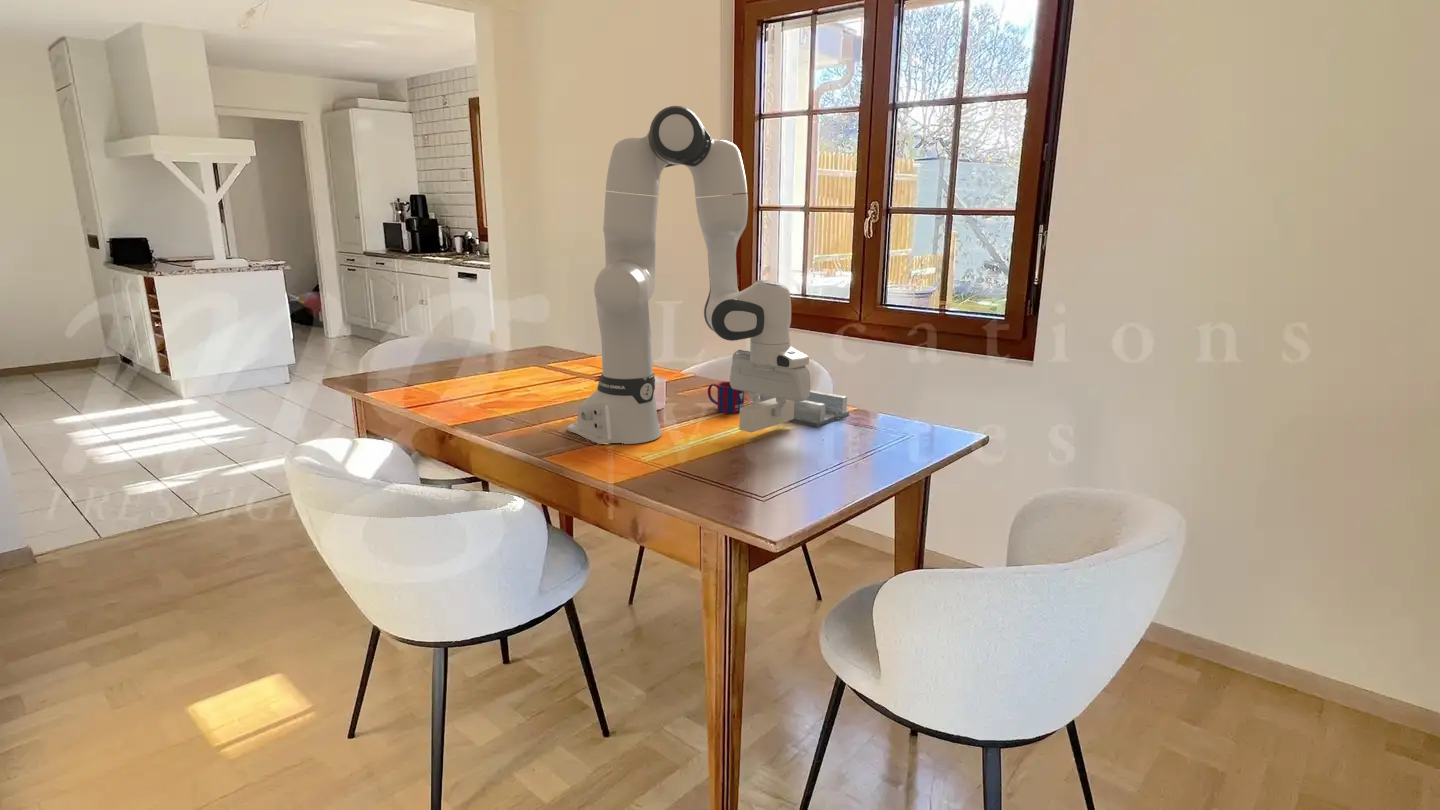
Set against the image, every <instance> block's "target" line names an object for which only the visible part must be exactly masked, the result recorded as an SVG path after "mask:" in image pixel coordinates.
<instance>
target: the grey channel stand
mask: <svg viewBox="0 0 1440 810" xmlns="http://www.w3.org/2000/svg"><path fill="white" fill-rule="evenodd" d="M773 398H776V397H771V396H766V395H760V396H759V399H760V402H762V401H766V400H769V399H773ZM847 403H848V396H846V395H839V394H835V393H829V392H823V391H817V390H813V389H810V396H809V397H808V398H807V400H805V401H801V402H796V401H795V402H794V419H792V420H789V421H788V422H789V423H790V422H791V423H793V424H794V423H796V424H799V425H805V426H808V425H810V426H809V427H813V426H815V427H814V428H817V426H818V427H820V425H821V426H824V425H826V424H829V423H831V421H832V422H834V421H837V420H839V419H838V418H840V419H842V418H841V417H843V418H845V417H848V416H850V413H851V412H850V410H847V409H848V408H847V407H848V404H847ZM847 415H848V416H847ZM844 416H845V417H844ZM836 419H837V420H836ZM833 420H834V421H833ZM823 424H824V425H823Z"/></svg>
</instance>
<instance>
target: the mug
mask: <svg viewBox="0 0 1440 810" xmlns="http://www.w3.org/2000/svg"><path fill="white" fill-rule="evenodd" d="M713 386H714V387H715V388H716V389H717V401H716V400H715V399H714V398H713V395H712V393H711V392H712V387H713ZM707 396H708V398H709V400H710V401H711V402H712V403H713V404H714V405H716V406H717V411H718V412H719V413H722V414H730V415H731V414H732V415H734V414H740V408H741V407H744V406H745V391H741V390H736V389H732V387H731V386H730V381H724V382H723V381H722V382H719V383H717V384H716V383H711V384H709V386H708V388H707Z"/></svg>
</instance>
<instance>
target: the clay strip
mask: <svg viewBox="0 0 1440 810" xmlns="http://www.w3.org/2000/svg"><path fill="white" fill-rule="evenodd" d="M794 402H795V401H791V400H786V403H785V404H784V406H783V408H782V409H781V416H779V417H775V416H772V408H775V407H776V406H777V404H778V402H776V398H773V399H769V400H766V401H762V402H759V403H755V404H753V403H752V404H747V405H744V407H741V408H740V413H739V421H738V422H739V426H738V427H739V428H738V429H739V430H740V431H742V432H747V433H748V432H749V433H751V434H752V433H755V432H758V431H762V430H764V429H767V428H770V427H773V426H777V425H780V424H783V423H786V422H789V420H792V419H794Z"/></svg>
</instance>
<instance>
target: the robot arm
mask: <svg viewBox="0 0 1440 810" xmlns="http://www.w3.org/2000/svg"><path fill="white" fill-rule="evenodd" d="M609 159H610V160H609V164H608V170H607V175H606V176H607V177H606V183H605V194H604V213H603V227H602V231H603V236H604V249H605V250H604V253H605V256H604V257H605V267H603V268H602V269H601V270H600V271H599V273H598V274H597V276H596V279H595V282H594V287H593V289H594V298H595V304H596V305H595V306H596V313H597V321H598V326H599V327H598V328H599V333H600V340H601V341H600V342H601V363H602V365H601V366H602V369H601V370H602V373H601V375H597V376H594V377H593V378H595V380H594V382H598V384H597V388H596V389H597V390H596V391H594V392H593V393H592V394H591V395H590V396H589V397H588V398H585V400H584V401H582V402H581V403H580V404H579V406H578V409H577V421H576V422H573V423H570V424H569V425H568V426H567V428H566V430H567V429H568V430H570V431H572V432H574V433H577V434H579V435H581V436H583V437H585V438H587V439H590V440H592V441H594V442H596V443H600V444H603V443H622V444H621V445H632V444H641V443H648V442H652V441H654V440H657V439H658V438H660V437H661V436H662V432H661V423H659V418H658V410H657V404H656V396H655V394H654V392H655V389H656V377H655V374H654V372H653V371H654V370H653V365H654V364H653V337H652V331H651V321H650V313H649V309H650V307H649V300H650V299H651V297H652V295H653V294H654V291H655V282H656V279H655V278H656V232H657V230H656V229H657V220H658V219H657V218H658V207H659V206H658V205H659V195H660V194H659V191H660V182H661V181H660V180H661V175H662V172H663V170H664V169H665V168H669V167H675V166H679V165H680V166H681V165H682V166H685V167H687V169H688V170H689V171H690V173H691V175H692V178H693V184H694V197H695V205H696V213H697V217H698V222H699V226H700V229H701V233H702V235H703V239H704V243H705V245H706V251H707V260H708V261H707V262H708V275H709V276H708V277H709V291H708V296H707V299H706V302H705V305H704V307H703V317H704V321H705V324H706V325H707V327H708V328H709V329H711V331H713V333H715V334H716V335H717V337H719V338H721V339H723V340H725V341H732V342H735V341H739V340H741V341H742V340H745V339H750V340H749V341H750V343H749V344H750V345H749V346H750V347H749V348H750V349H749V350H743V349H737V350H736V351H734V353H733V354H732V358H731V359H732V360H731V361H732V362H731V367H730V375H729V382H730V386H731V387H732V389H736V390H741V391H744V392H746V393H750V394H749V397H750V400H751V402H752V404H755V403H759V402H760V395H766V396H771V397H776V402H778V404H777V406H776V407H775V408H772V416H775V417H779V416H781V409H782V408H783V406H784V404H785V403H786V400H791V401H796V402H801V401H805V400H807V398H808V397H809V396H810V390H811V373H810V370H809V369H808V367H807V366H808V365H809V363H810V356H808V355H807V354H806V353H803V352H801V351H799V350H798V349H796V348H794V347H793V346H791V337H790V327H791V324H792V299H791V292H790V290H789V289H788V287H787V286H785V285H784V284H781V283H779V282H776V281H771V280H764V279H763V280H762V279H760V280H756V281H755V282H754V283H753V284H751V285H750V286H748V287H746V288H744V289H743V290H741V291H739V288H738V274H737V273H738V270H737V268H738V267H737V248H738V243H739V240H740V239H741V236H742V235H743V233H744V230H746V228H747V223H748V215H749V213H748V212H749V198H748V197H749V195H748V184H747V178H746V172H745V167H744V163H743V158H742V153H741V151H740V149H739V148H738V146H737V145H736V144H735V143H733V142H731V141H728V140H724V139H712V136H711V135H710V133H709V132H708V131H707V130H706V127H705V126H704V124H703V123H702V121H701V119H700V118H699V117H698V115H696V113H695V112H694V111H692V110H691V109H689V108H687V107H685V106H680V105H670V106H667V107H665V108H663V109H661V110H660V111H659V112H658V113H656V115H655V116H654V117H653V119H652V121H651V123H650V127H649V130H648V133H647V134H645V136H644V137H643V136H642V137H627V138H624V139H622V140H619V141H617V143H616V144H615V145H614V146H613V148H612V151H611V156H610V158H609ZM596 378H597V379H596ZM587 439H586V440H587ZM623 443H624V444H623Z"/></svg>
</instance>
